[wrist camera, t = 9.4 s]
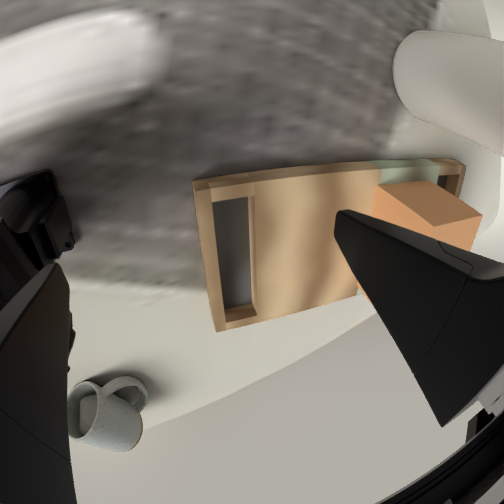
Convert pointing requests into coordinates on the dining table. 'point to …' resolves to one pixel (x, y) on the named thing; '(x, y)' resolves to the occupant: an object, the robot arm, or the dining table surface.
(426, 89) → the alcohol
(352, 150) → the dining table surface
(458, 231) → the block
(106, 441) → the ceramic mug
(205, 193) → the box
